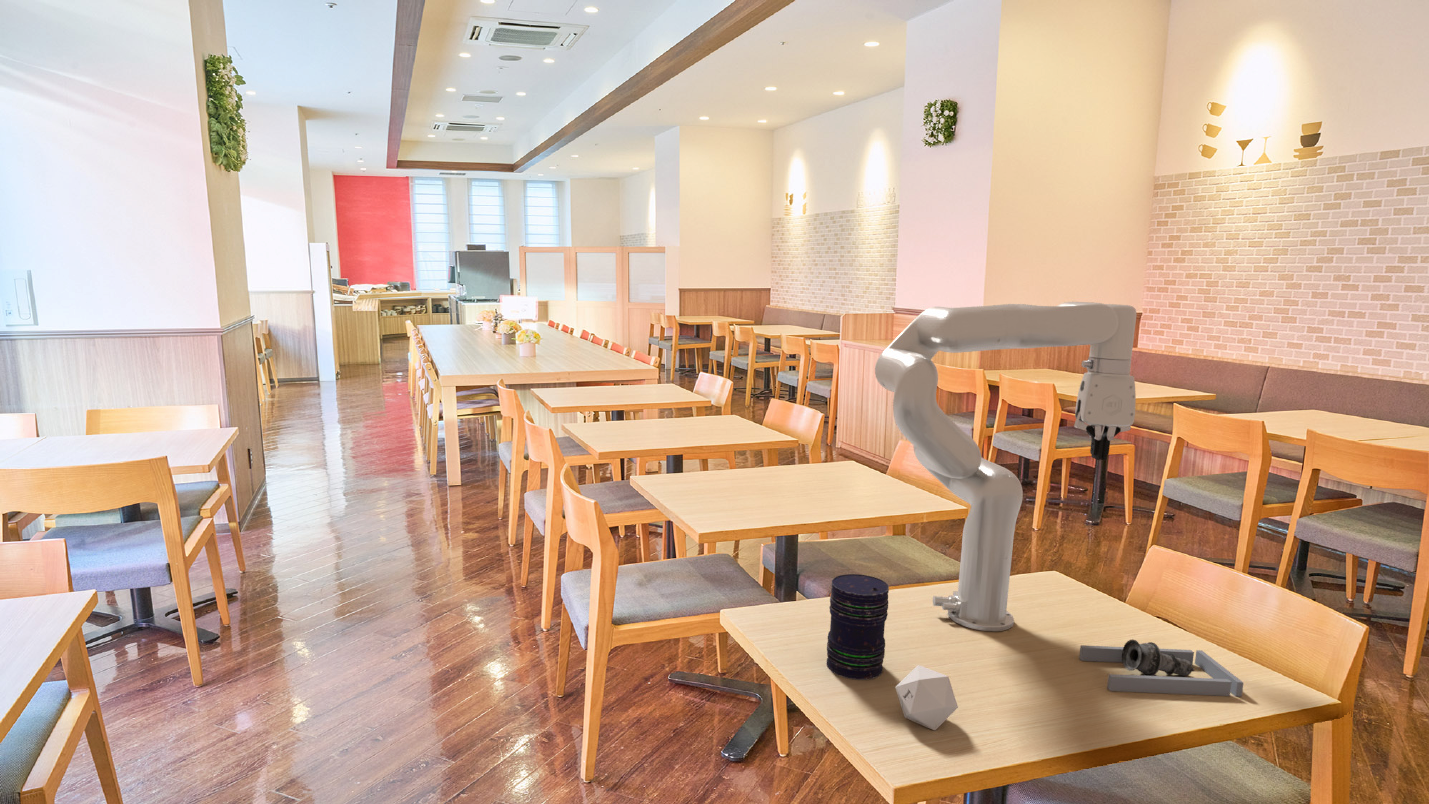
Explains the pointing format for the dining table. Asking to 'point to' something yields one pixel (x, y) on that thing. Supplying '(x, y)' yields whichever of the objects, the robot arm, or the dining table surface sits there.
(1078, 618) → the dining table surface
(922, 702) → the die
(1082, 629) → the dining table surface
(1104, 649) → the frame
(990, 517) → the robot arm
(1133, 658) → the dark ringed finial
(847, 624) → the dark blue cylinder
